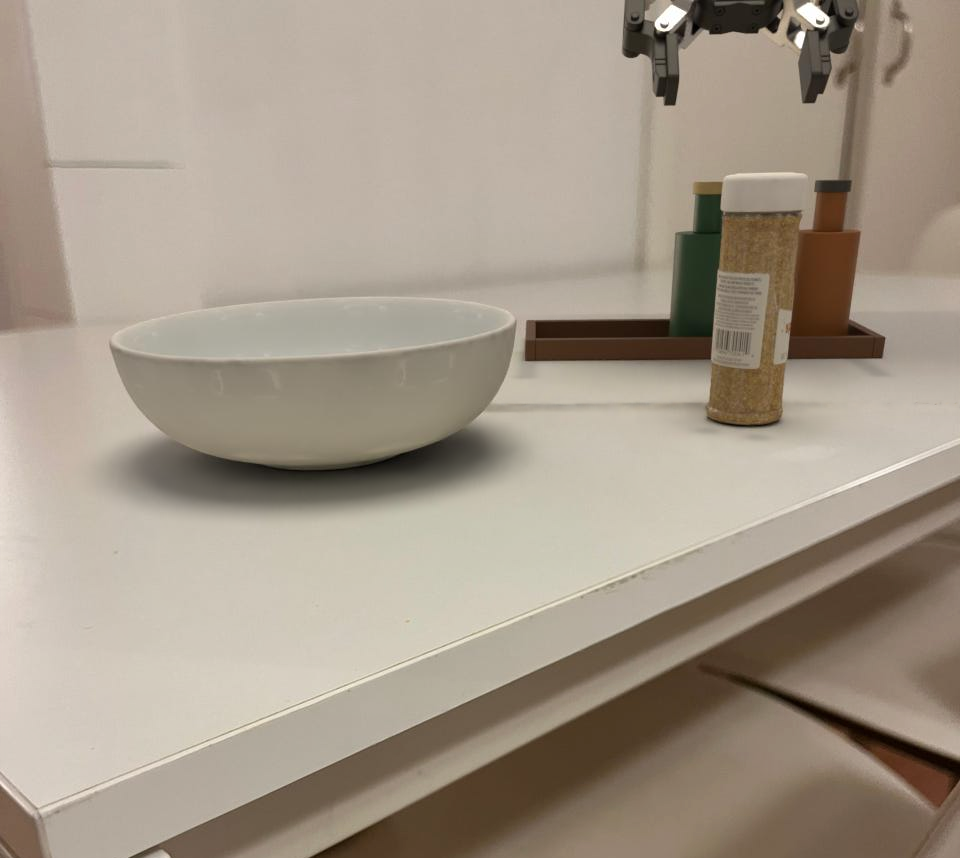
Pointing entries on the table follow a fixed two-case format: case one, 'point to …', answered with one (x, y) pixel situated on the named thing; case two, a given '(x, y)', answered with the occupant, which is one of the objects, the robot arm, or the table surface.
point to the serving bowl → (316, 376)
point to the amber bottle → (825, 266)
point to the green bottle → (697, 266)
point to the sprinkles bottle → (755, 295)
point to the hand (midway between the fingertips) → (742, 93)
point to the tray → (671, 342)
